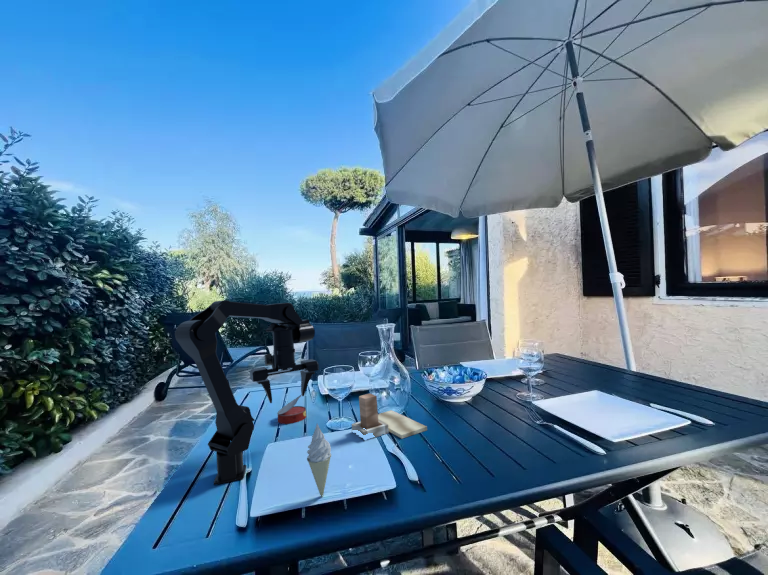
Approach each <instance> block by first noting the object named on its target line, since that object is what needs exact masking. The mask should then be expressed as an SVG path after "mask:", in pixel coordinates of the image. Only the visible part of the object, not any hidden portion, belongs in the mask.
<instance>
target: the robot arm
mask: <svg viewBox="0 0 768 575" xmlns="http://www.w3.org/2000/svg"><path fill="white" fill-rule="evenodd" d="M229 317H230V318H231V317H233V318H248V319H249V318H250V319H261V320H264V321H265V322H268V323H269V322H270V325H269V326H268V327H267V328H266V329H265V332H266V333H272V344H273V352H272V353H273V354H272V353H266V354H265V353H264V366H262V367H256V368H255V367H254V368H251V369H250V371H249V379H250V380H251V381H252V382H253V383H254V382H255V383H256V384H258V385H261V386H262V388H263V389H264V391H265V395H266V396H267V399H268V401H269V403H270V404H272V403H273V395H272V388H271V382H270V379H268V377H270V376H275V375H281V374H286V373H292V372H298V371H300V378H301V379H300V391H301V392H300V393H301V394H302V395H301V394H300V395H301V397H304V396H305V394H306V390H307V388H308V385H309V382H310V380H311V378H312V376H313V375H315V374H316V371H319V370H320V366H319V362H318V361H317V360H315V359H313V358H311V359H304V360H300V363H297V364H296V359H295V353H296V351H295V350H296V349H295V346H294V344H299V343H304V342H309V341H311V340H313V339H314V337H315V334H316V331H315V329H314V325H312V324H311V323H310V319H302V318H301V317H300V315H299V314H298V312H297V311H296V309H295V306H294V304H292V303H290V302H280V303H270V304H263V303H262V304H259V303H251V302H242V301H241V302H239V301H230V300H227V299H226V300H225V299H224V300H216V301H213V302H212V303H211V304H210V305H209V306H208V307H207V308H205V309H203V310H202V311H200V312H198V313H197V314H196V315H194V316H192V317H191V318H190V319H189V320H186V321H183V322H181V323H179V325H178V326H177V327H176V329H175V331H174V336H175V340H176V342H177V343H178V344H179V346H180V347H181V349H182V351H184V352H185V353H186V354H187V355H188V356H189V357H190V358H191V359H192V360H193V362H195V366H196V369H197V370H198V373H199V374H200V377H201V379H202V381H203V384H204V385H205V388H206V391H207V393H208V395H209V398H210V400H211V402H212V404H213V407H214V409H215V412H216V413H215V414H216V416H215V420H214V421H215V422H214V424H215V426H216V430H215V433H213V435H212V436H211V438H210V440H209V441H208V443H207V446H208V447H209V450H210V451H212V452H215V454H216V472H217V474H216V476H215V478H214V481H213V485H215V486H216V485H219V484H220V485H221V484H225V483H230V482H234V481H238V480H239V481H241V480H243V479H244V478H245V474H246V471H247V467H248V466H247V464H244V454H243V452H245V451H247V450H248V449H249V446H250V443H251V439H252V438H251V437H252V435H253V431H254V430H255V425H254V422H255V421H256V419H255V418H254V417H253V416H252V413H251V409H250V407H249V406H245V405H241V404H239V403H237V400H236V397H235V395H234V393H233V390H232V388H231V386H230V383H229V381H228V378H227V376H226V373H225V372H224V369H223V366H222V363H221V362H220V359H219V356H218V354H217V347H218V346H217V345H218V339H217V334H216V333H217V332H218V331H220V329H221V328H223V326H224V324H225V322H226V320H227V319H228V318H229ZM265 366H267V367H268V366H271V368H267V367H265Z"/></svg>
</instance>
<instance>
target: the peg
mask: <svg viewBox="0 0 768 575" xmlns="http://www.w3.org/2000/svg"><path fill="white" fill-rule="evenodd" d="M358 401H359V402H358V403H359V417H360V421H361V427H362V428H365V429H366V430H367V429H370V428H373V427H377V426H379V422H378V414H379V412H378V398H377V395H375V394H373V393H366V394H363V395H359V396H358Z"/></svg>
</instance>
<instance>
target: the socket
mask: <svg viewBox="0 0 768 575" xmlns="http://www.w3.org/2000/svg"><path fill="white" fill-rule="evenodd" d="M378 422H379V426H377V427H373V428H370V429H367V430H365V429H363V428H362V427H361V420H360V421H357V422H354V423H351V431H352V430H358V431H360V432H361V433H362V434H363V435H366V434H368V433H373V435H374V436H375V438H379V437H380V436H383V435H382V434H384V435H387V434H389V433H391V434H393V435H394V436H396V437H398V438H400V439H402V440H403V439H404V438H408V437H412V436H414V435H417V434H420V433H423V432H426V431H428V426H427V425H424V424H422V423H420V422H418V421H417V420H413V419H411V418H410V417H408V416H405V415H404V414H400V413H398V412H397V411H394V410H392V409H391V410H387V411H383V412H380V413H378Z"/></svg>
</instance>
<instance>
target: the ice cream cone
mask: <svg viewBox="0 0 768 575" xmlns="http://www.w3.org/2000/svg"><path fill="white" fill-rule="evenodd" d="M307 449H308V450H307V452H306V453H307V455H308V456H307V457H306V460H307V462H308V465H309V467H310V470H311V471H310V472H311V473H312V476H313V480H314V482H315V485H316V487H317V490H318V493H319V496H320V495H321V496H322V495H323V496H324V493H325V489H326V483H327V478H328V472H329V468H330V462H331V457H332V452H331V451H332V450H331V449H332V448H331V444H330V442H329V441H328V440H327V439H325V434H324V433H323V432H322V430H321V428H320V425H319V424H318V423H316V426H315V429H314V432H313V434H312V436H311V442H310V444H309V445H308V446H307ZM321 496H320V497H321Z"/></svg>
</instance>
